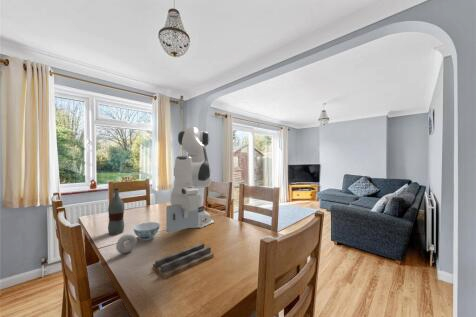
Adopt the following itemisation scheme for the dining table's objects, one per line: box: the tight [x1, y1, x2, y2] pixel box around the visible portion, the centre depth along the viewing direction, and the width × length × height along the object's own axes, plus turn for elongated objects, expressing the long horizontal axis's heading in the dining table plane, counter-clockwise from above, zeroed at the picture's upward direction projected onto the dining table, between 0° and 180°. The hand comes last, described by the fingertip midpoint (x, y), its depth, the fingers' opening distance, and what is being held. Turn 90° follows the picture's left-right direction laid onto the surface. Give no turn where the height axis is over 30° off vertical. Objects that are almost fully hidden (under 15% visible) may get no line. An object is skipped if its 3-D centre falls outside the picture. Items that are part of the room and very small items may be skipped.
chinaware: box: [133, 221, 161, 241], centre depth 123 cm, size 15×15×8 cm
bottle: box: [107, 187, 125, 236], centre depth 132 cm, size 9×9×30 cm
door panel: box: [165, 204, 198, 234], centre depth 96 cm, size 16×3×12 cm, turn 136°
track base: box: [152, 242, 214, 279], centre depth 95 cm, size 26×12×4 cm, turn 136°
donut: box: [115, 233, 138, 255], centre depth 104 cm, size 10×4×10 cm, turn 142°
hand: (183, 216), depth 96 cm, fingers closed on door panel, 2 cm apart
